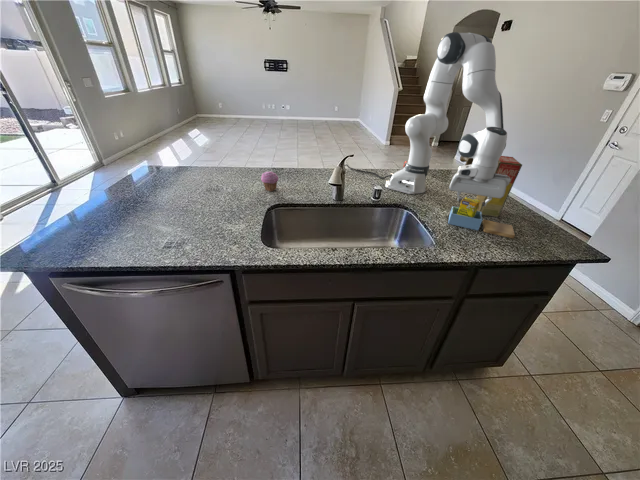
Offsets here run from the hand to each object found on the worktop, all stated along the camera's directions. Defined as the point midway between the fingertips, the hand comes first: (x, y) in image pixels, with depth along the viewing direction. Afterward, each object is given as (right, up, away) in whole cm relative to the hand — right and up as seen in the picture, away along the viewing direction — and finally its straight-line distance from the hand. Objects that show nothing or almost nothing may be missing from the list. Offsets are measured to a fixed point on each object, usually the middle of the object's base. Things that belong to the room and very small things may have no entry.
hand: (471, 203), depth 114 cm
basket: (-1, -8, +5) cm, 10 cm away
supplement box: (-1, -8, +5) cm, 10 cm away
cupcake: (-91, +11, +30) cm, 96 cm away
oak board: (+12, -11, +1) cm, 16 cm away
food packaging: (+17, -1, +17) cm, 24 cm away
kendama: (+23, +21, +52) cm, 61 cm away
